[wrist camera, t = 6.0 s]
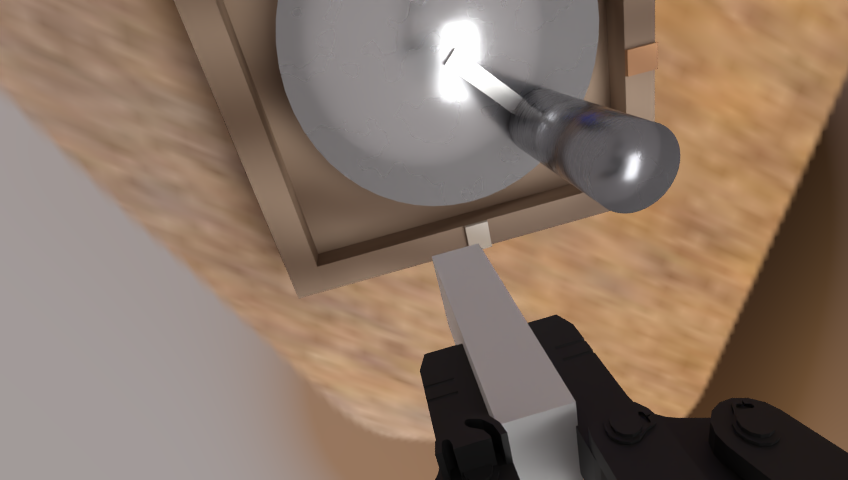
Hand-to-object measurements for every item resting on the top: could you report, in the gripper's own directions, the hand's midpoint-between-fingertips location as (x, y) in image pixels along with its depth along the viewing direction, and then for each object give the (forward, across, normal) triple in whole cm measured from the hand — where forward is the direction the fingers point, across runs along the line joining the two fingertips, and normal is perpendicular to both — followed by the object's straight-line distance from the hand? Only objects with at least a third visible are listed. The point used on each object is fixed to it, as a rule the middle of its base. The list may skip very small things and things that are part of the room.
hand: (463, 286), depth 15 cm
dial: (+11, +3, +6) cm, 13 cm away
